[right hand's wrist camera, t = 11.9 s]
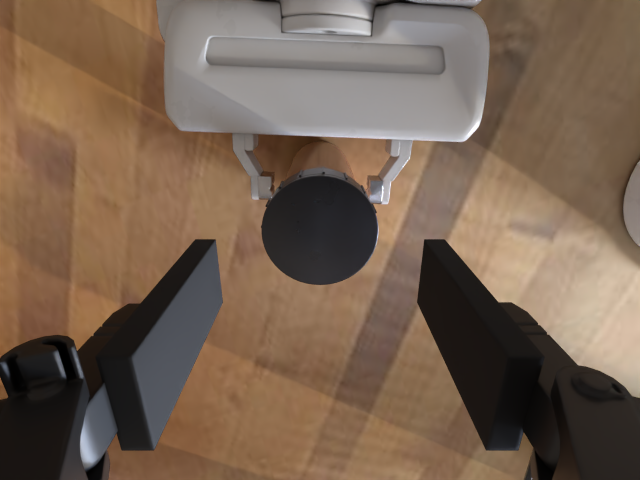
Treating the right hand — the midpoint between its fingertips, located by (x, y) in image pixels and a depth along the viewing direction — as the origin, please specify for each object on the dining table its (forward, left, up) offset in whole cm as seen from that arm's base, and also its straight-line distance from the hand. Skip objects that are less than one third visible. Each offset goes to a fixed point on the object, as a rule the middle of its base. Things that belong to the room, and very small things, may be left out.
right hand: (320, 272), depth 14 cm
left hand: (0, +1, -13) cm, 13 cm away
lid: (0, 0, -5) cm, 5 cm away
